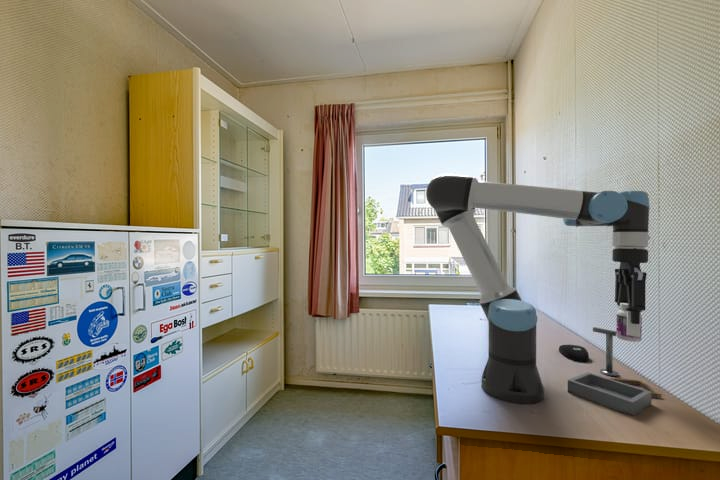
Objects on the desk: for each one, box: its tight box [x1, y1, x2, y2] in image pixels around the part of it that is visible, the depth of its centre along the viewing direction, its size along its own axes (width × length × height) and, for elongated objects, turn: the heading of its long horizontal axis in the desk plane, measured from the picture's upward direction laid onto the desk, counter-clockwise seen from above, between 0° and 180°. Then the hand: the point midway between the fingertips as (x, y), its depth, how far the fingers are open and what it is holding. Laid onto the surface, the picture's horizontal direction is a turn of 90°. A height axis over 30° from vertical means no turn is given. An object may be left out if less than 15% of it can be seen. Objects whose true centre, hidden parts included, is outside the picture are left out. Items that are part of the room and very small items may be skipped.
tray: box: [567, 371, 652, 417], centre depth 82 cm, size 11×14×3 cm
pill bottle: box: [615, 303, 643, 343], centre depth 88 cm, size 5×5×10 cm
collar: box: [605, 376, 663, 399], centre depth 88 cm, size 9×9×1 cm
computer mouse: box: [558, 343, 590, 363], centre depth 113 cm, size 8×12×4 cm, turn 166°
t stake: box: [592, 326, 619, 378], centre depth 99 cm, size 4×6×13 cm
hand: (628, 332), depth 88 cm, fingers closed on pill bottle, 5 cm apart
